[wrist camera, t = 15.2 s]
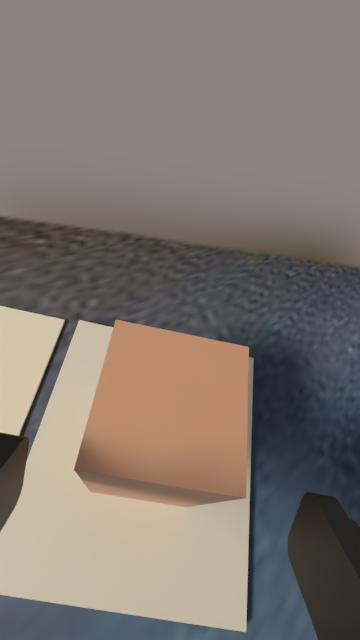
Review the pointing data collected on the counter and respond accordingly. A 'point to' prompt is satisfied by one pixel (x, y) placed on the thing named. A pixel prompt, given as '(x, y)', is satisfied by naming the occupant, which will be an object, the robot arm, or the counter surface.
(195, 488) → the block
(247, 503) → the beige board
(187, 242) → the counter surface
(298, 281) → the counter surface
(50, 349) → the cream tile
